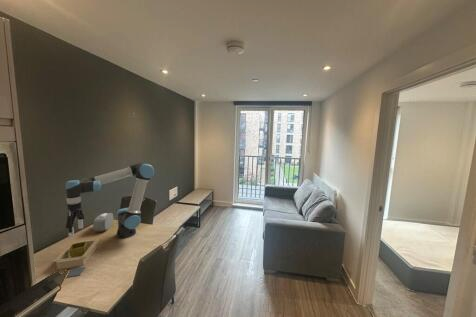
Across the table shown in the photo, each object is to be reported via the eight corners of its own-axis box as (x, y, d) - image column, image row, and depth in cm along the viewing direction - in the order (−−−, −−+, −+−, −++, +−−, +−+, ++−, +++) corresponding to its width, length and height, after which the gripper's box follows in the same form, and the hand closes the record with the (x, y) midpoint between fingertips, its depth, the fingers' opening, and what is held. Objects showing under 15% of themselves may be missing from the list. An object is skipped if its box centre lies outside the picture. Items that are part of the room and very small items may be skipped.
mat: (85, 267, 132) (85, 266, 132) (79, 275, 124) (79, 274, 124) (69, 270, 129) (68, 269, 129) (62, 278, 122) (62, 277, 122)
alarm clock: (102, 224, 198) (102, 211, 197) (113, 223, 201) (112, 210, 199) (93, 234, 178) (92, 219, 177) (105, 232, 181) (104, 218, 179)
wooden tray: (101, 245, 159) (100, 238, 159) (85, 266, 133) (85, 257, 132) (73, 249, 154) (72, 241, 153) (51, 271, 128) (50, 263, 127)
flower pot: (69, 262, 138) (68, 249, 137) (72, 255, 145) (71, 243, 144) (85, 258, 142) (84, 246, 141) (87, 252, 149) (86, 240, 148)
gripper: (76, 198, 150) (78, 225, 152) (57, 209, 126) (60, 241, 128) (88, 197, 152) (90, 224, 154) (71, 208, 129) (74, 239, 131)
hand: (76, 232), depth 141 cm, fingers open, 13 cm apart
